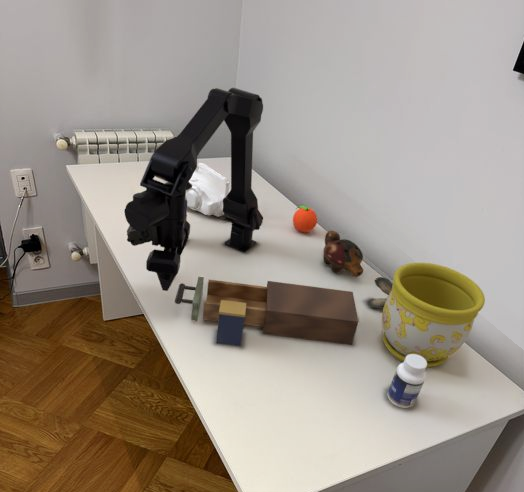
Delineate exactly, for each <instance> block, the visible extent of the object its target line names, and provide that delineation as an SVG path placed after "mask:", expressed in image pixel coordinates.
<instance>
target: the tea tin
mask: <svg viewBox="0 0 524 492" xmlns="http://www.w3.org/2000/svg"><path fill="white" fill-rule="evenodd" d="M245 312H246V303H242V302H234V301H227V300H221V303H220V309H219V320H218V321H217V330H216V340H215V344H220V345H227V346H235V347H241V346H242V338H243V332H244V325H245V324H244V318H245Z"/></svg>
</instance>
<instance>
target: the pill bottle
mask: <svg viewBox="0 0 524 492" xmlns="http://www.w3.org/2000/svg"><path fill="white" fill-rule="evenodd" d="M426 367H427V361H426V360H425V359H424V358H423V357H422V356H420V355H417V354H409V355H407V356H406V358H405V360H404V362H400V363H399V365H398V366H397V367H396V370H395V372H394V375H393V377H392V380H391V381H390V382H391V383H390V384H389V387H388V390H387V398H388V400H389V401H390V402H391V404H392V405H394V406H396V407H397V408H402V409H403V408H404V409H408V408H412V407H413V406H414V405H415V403H416V401H417V400H418V397H419V394H420V393H421V390H422V388H423V386H424V385H425V382H426V379H427V372H426V369H427V368H426Z"/></svg>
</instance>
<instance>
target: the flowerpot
mask: <svg viewBox="0 0 524 492" xmlns="http://www.w3.org/2000/svg"><path fill="white" fill-rule="evenodd" d="M392 281H393V283H392V284H393V285H392V290H391V292H390V293H389V295H387V297H386V299H387V300H386V302H385V305H384V308H382V309H383V310H382V313H381V314H382V315H381V324H382V329H383V333H382V340H383V343H384V346H385V347H386V349H387V350H388V352H390V354H391V355H392V356H393V357H394V358H395V359H397V360H399V361H400V362H401V363H403V362H404V360H405V358H406V356H407V355H409V354H417V355H420V356H422V357H423V358H424V359H425V360H426V361H427V367H426V369H427V368H433V367H437V366H440V365H443V364H444V363H445V362H447V360H448V359H449V357H450V356H452V355H453V354H454V353H456V352H457V351H459V350H460V349H461V347H462V346H463V345H464V344H465V342H466V341H467V339H468V337H469V335H470V333H471V331H472V328H473V325H474V322H475V319H476V318H477V316H478V314H479V312H480V311H481V310H482V309H483V308H484V305H485V303H486V298H485V295H484V292H483V290H482V289H481V287H480V286H479V285H478V284H477V283H476V282H475V281H473V280H472V279H471V278H469V277H468V276H466V275H465V274H464V273H461V272H460V271H457V270H455V269H453V268H450V267H447V266H443V265H441V264H436V263H430V262H411V263H406V264H404V265H401V266H400V267H399V268H397V270H396V271H395V272H394V274H393V280H392Z"/></svg>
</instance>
